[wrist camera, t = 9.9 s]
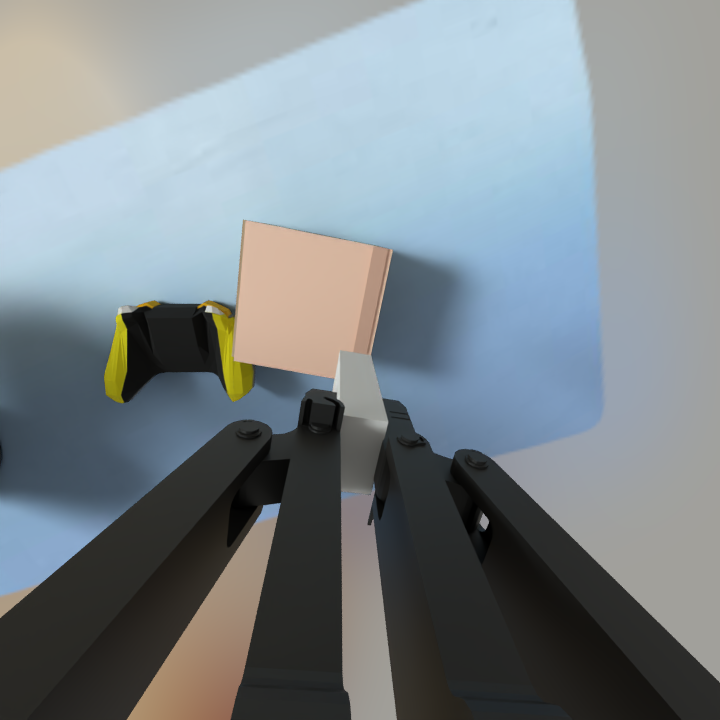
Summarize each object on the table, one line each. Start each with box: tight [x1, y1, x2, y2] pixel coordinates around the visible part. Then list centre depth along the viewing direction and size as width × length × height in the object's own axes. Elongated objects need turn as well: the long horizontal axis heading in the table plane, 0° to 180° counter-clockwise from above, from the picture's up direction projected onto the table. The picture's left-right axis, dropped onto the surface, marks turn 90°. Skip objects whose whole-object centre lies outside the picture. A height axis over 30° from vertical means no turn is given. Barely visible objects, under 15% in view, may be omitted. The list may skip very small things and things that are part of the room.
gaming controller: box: [104, 300, 255, 403], centre depth 38 cm, size 15×6×10 cm
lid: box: [234, 221, 393, 379], centre depth 31 cm, size 12×12×1 cm
